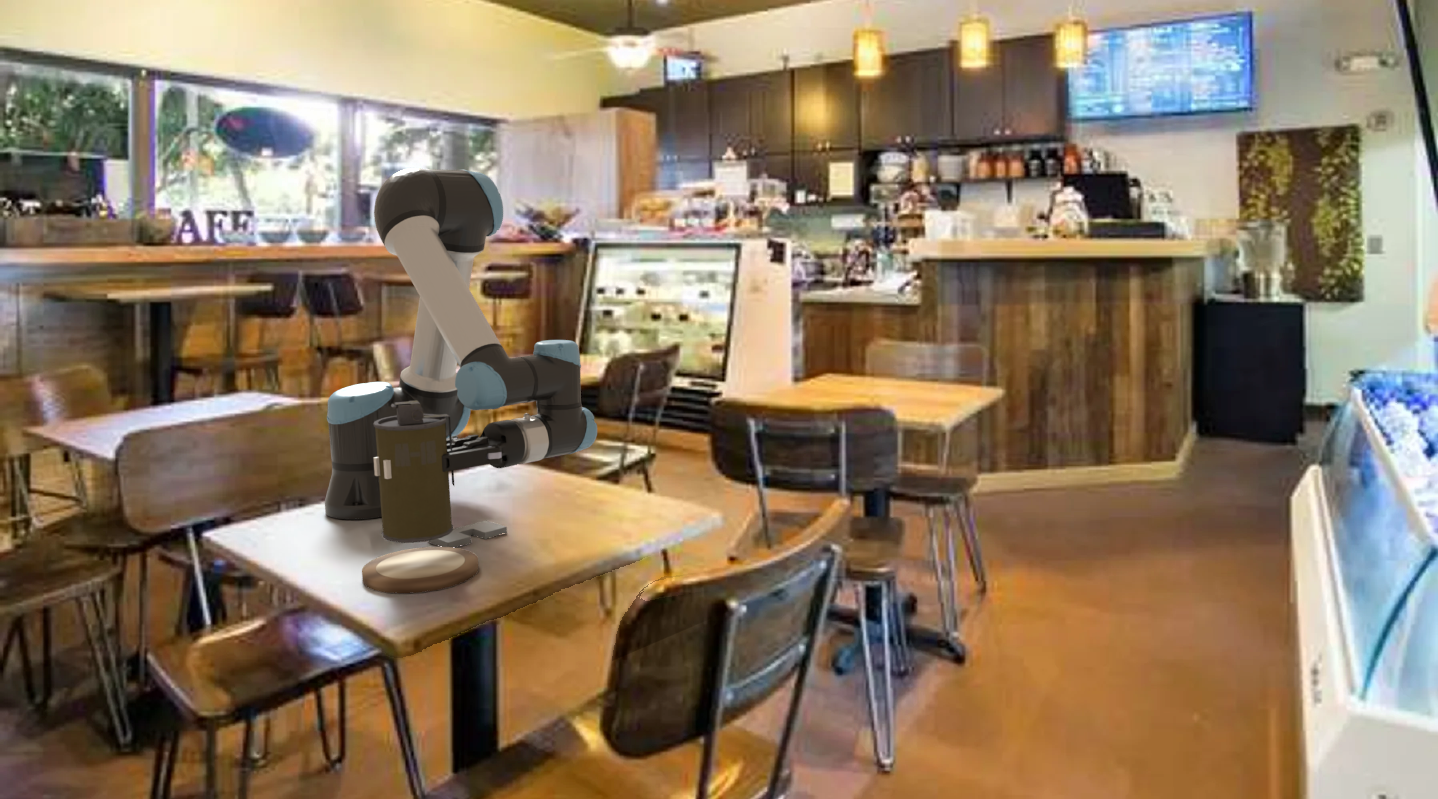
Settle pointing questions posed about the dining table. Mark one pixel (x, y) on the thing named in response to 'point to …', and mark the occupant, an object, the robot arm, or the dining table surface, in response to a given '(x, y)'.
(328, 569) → the dining table surface
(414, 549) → the beige plate
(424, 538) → the canister
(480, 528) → the notched board
